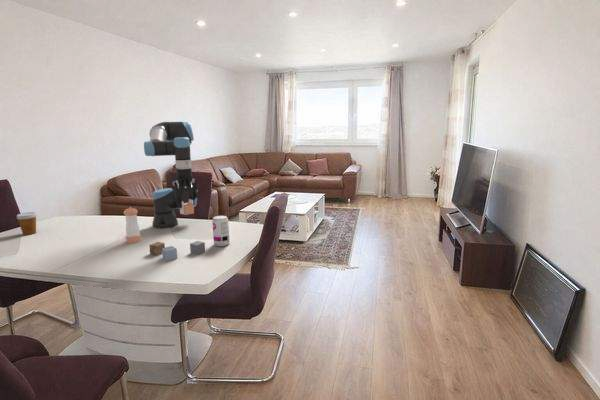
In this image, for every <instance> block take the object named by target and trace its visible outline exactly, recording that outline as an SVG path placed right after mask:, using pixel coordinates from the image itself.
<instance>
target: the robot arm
mask: <svg viewBox="0 0 600 400" xmlns="http://www.w3.org/2000/svg"><path fill="white" fill-rule="evenodd" d="M148 134H149V141H144V143H143V150H144V155H145V156H146V157H160V156H161V157H164V156H166V157H167V156H174V159H175V168H176V170H175V174H176V180H174V181H172V182H171V184H172V188H171V187H170V188H168V187H166V188H161V189H157V190H155V191H154V192H153V193H152V202H153V211H154V212H153V213H154V216H153V218H152V219H153V220H152V228H154V229H170V228H174V227H176V226H178V225H179V221H178V218H177V216H176V213H175V209H177V210H178V209H179V213H180V215H183V214H184V203H191V204H194V208H195V207H196V206H197V204H198V187H197V185H198V184H197V183H198V179H197V178H193V177H192V176H193V171H192V162H191V161H192V159H191V145H192V142H193V141H194V140H195V139H194V134H193V128H192V125H191V123H190V121H189V122H188V121H163V122H159V123H156V124H155V125H153V126H152V127H151V128H150V130H149V133H148Z"/></svg>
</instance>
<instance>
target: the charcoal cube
mask: <svg viewBox="0 0 600 400" xmlns="http://www.w3.org/2000/svg"><path fill="white" fill-rule="evenodd" d="M189 249H190V254H193V255H197V256H199V255H201V254H203V253H205V252H206V244H205V242H203V241H200V240H196V241H194V242H190V243H189Z"/></svg>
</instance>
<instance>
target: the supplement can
mask: <svg viewBox="0 0 600 400" xmlns="http://www.w3.org/2000/svg"><path fill="white" fill-rule="evenodd" d="M211 221H212V236H213V245H214V246H215V247H218V246H223V247H227V246H228V245H229V244H230V227H229V218H228V217H227V215H216V216H213V218H212V220H211ZM226 245H227V246H226Z"/></svg>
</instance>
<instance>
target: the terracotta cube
mask: <svg viewBox="0 0 600 400" xmlns="http://www.w3.org/2000/svg"><path fill="white" fill-rule="evenodd" d="M192 214H193V215H194V214H195V207H194V204H191V203H184V214H182V215H184V216H189V215H192Z"/></svg>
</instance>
